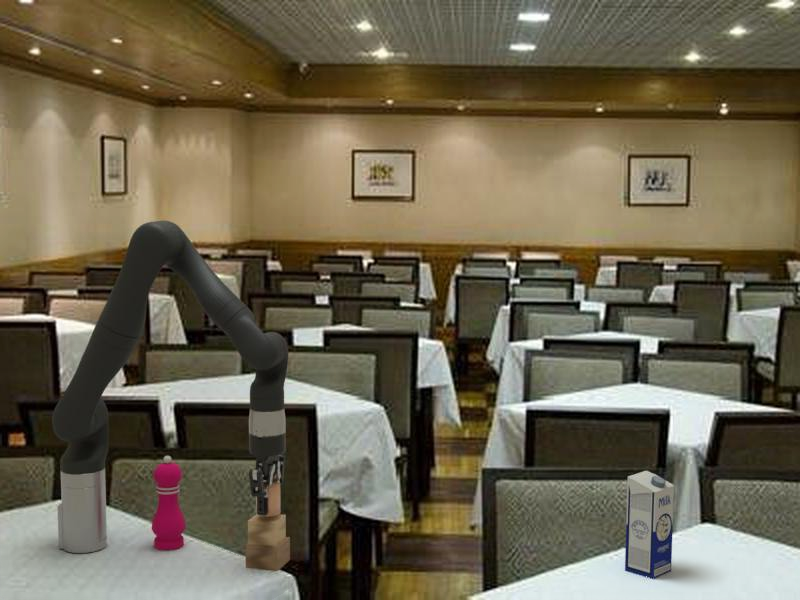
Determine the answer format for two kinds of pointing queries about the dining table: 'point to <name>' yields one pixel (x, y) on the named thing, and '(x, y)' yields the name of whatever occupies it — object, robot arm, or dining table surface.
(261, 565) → the tower base
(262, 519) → the tower top
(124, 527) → the dining table surface
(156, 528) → the pepper mill
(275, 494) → the rounded stamp handle
